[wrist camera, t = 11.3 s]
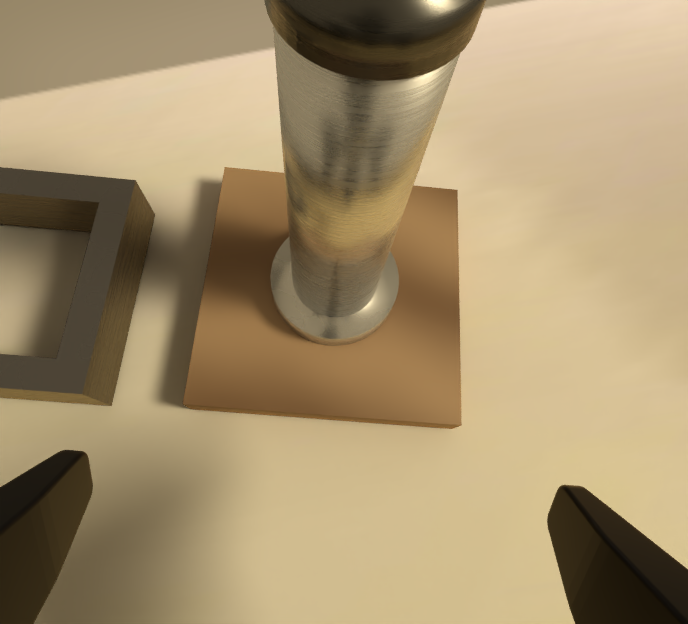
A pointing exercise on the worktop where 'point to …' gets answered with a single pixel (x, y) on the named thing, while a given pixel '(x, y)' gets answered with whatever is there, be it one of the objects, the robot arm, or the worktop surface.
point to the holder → (81, 280)
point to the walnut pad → (315, 359)
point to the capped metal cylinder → (354, 148)
